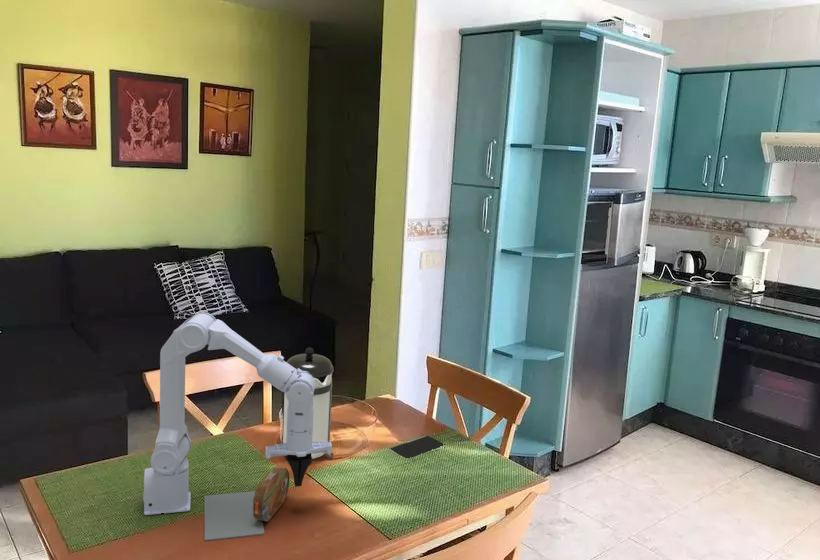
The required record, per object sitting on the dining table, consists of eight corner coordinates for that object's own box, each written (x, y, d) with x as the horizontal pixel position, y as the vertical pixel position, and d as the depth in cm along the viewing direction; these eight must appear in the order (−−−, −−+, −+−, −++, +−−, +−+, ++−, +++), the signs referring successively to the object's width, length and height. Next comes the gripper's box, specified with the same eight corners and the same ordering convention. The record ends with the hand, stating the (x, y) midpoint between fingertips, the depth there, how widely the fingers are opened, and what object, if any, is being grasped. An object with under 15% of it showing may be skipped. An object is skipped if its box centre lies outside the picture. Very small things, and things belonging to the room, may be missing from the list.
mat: (204, 541, 134) (204, 539, 134) (204, 496, 151) (204, 495, 151) (264, 534, 138) (264, 533, 138) (257, 492, 155) (257, 490, 154)
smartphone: (388, 448, 181) (426, 434, 191) (387, 452, 181) (426, 438, 191) (407, 459, 175) (446, 444, 185) (407, 463, 175) (446, 448, 186)
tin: (262, 528, 139) (265, 492, 138) (248, 525, 140) (251, 489, 138) (289, 496, 154) (292, 462, 152) (276, 493, 154) (279, 460, 153)
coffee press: (341, 446, 182) (346, 342, 176) (323, 472, 166) (328, 359, 161) (281, 438, 184) (285, 335, 179) (259, 462, 169) (262, 351, 164)
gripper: (268, 437, 139) (266, 496, 142) (335, 432, 143) (333, 489, 146) (265, 423, 146) (263, 480, 148) (329, 420, 150) (327, 475, 153)
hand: (297, 484), depth 147 cm, fingers closed
